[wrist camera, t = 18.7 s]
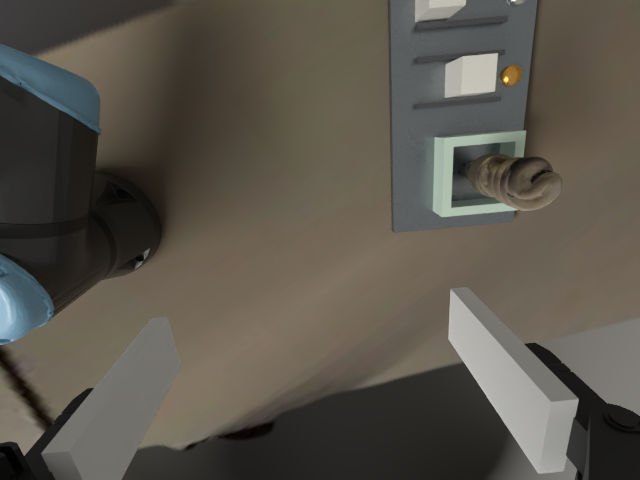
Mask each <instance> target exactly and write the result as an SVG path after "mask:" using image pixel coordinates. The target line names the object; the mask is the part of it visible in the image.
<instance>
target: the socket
mask: <svg viewBox="0 0 640 480" xmlns="http://www.w3.org/2000/svg"><path fill="white" fill-rule="evenodd" d="M525 138H526V130H508V131H497V132H486V133H475V134H464V135H453V136H442V137H435V145H434V184H433V212H435V213H436V214H438V215H439V216H441V217H449V216H460V215H471V214H482V213H493V212H504V211H514V210H518V209H515V208H513V207H510V206H507V205H505V204H504V203H502V202H500V201H498V200H497V199H495V198H483V199H472V200H461V201H451V197H452V174H453V151H454V147H458V146H469V145H480V144H491V143H501V144H500V154H504V155H508V156H509V157H511V158H514V157H523V156H524V147H525Z"/></svg>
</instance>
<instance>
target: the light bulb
mask: <svg viewBox="0 0 640 480" xmlns="http://www.w3.org/2000/svg"><path fill="white" fill-rule="evenodd" d="M465 177H466V178H467V179H468V182H469V184H470V186H471V188H472V189H473V190H475V191H476V192H478V193H480V194H482V195H485V196H488V197H493V198H495V199H497V200H498V201H500V202H502V203H504V204H505V205H507V206H510V207H513V208H515V209H518V210H522V211H531V210H536V209H540V208H542V207H544V206H546V205H548V204H549V203H551V202H552V201H553V200H554V199H555V198H556V197H557V196H558V194H559V193H560V190H561V188H562V179H561V177H560V176H559V174H557V173H555V172H553V169H552V166H551V165H550V163H549V162H548V161H547V160H545V159H543V158H540V157H514V158H511V157H509V156H508V155H504V154H485V155H482V156H481V157H479V158H477V159H476V160H474V161H471V162H469V163H468V164H467V165H466V167H465Z"/></svg>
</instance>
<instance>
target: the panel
mask: <svg viewBox="0 0 640 480" xmlns="http://www.w3.org/2000/svg"><path fill="white" fill-rule="evenodd" d="M536 9H537V0H466V5H465V6H464V7H462V8H461V9H460V10H459V11H457V12H456V13H455V14H454V15H452V16H451V17H450V18H448V19H445V20H434V21H424V22H415V0H388V25H389V86H390V147H391V208H392V231H393V232H394V233H397V232H408V231H419V230H429V229H440V228H451V227H462V226H473V225H484V224H494V223H505V222H513V221H514V212H515V210H514V211H504V212H493V213H482V214H471V215H460V216H449V217H441V216H439V215H438V214H436V213H435V212H433V184H434V145H435V137H442V136H453V135H464V134H475V133H486V132H497V131H508V130H523V129H524V120H525V110H526V101H527V92H528V83H529V74H530V64H531V55H532V46H533V37H534V28H535V18H536ZM494 53H498V59H497V72H496V84H495V92H490V93H484V94H479V95H474V96H463V97H452V98H445V69H446V64H447V63H450V62H452V61H454V60H456V59H458V58H460V57H463V56H472V55H483V54H494ZM500 144H501V143H491V144H480V145H469V146H458V147H454V151H453V174H452V197H451V201H461V200H472V199H483V198H493V197H488V196H485V195H482V194H480V193H478V192H476V191H475V190H473V189H472V188H471V186H470V184H469V182H468V179H467V178H466V177H465V167H466V165H467V164H468V163H469V162H471V161H474V160H476V159H477V158H479V157H481V156H482V155H485V154H500Z"/></svg>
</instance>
